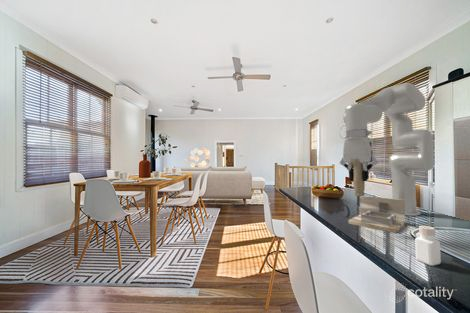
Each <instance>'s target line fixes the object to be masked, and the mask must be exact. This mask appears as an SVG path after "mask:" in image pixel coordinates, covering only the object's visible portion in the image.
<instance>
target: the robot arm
mask: <svg viewBox="0 0 470 313" xmlns="http://www.w3.org/2000/svg"><path fill="white" fill-rule="evenodd" d="M425 106H426V98H425V95H424V94H423V93H422V92H421V91H420V89H419V88H418V87H417V86H416V85H415V84H413V83H411V82H404V83H400V84H396V85H393V86H388V87H385V88H383V89H381V90H380V91H379V92H377V93H376V94H374V96H371V97H369V98H366V99H364V100H363V101H360V102H358V103H355V104H354V103H353V104H351V105H347V106H346V107H345V110H344V114H343V118H342V120H343V122H344V124H345V135H346V137H345V138H346V139H344V142H343V150H342V151H343V152H342V154H343V156H342V158H341V159H340V161H339V164H340V165H342V166H343V167H344V168H345V169H346V170H347V171H348V178H349V180H350V181H353V164H352V163H351V162H350V161H349V160H350V159H359V160H360V163H362V164H363V171H362V174H363V181H364V182H367V181H368V180H369V177H370V176H369V171H370V170H371V169H372V168H373V167H374V166H376V165H378V164H379V161H378V160H377V158H376V157H375V156H374V148H373V142H372V138H371V137H369V136H370V135H372V134H373V131H372V130H368V125H369V124H375V123H377V122H379V121H380V120H381V119H382V118H383V113H384V114H385V116H387V117H386V118H388V120H389V121H390V123H391V143H392V147H393V148H394V149H395V150H419V151H401V152H400V151H399V152H398V151H397V152H394V153H392V154H390V156H389V157H388V164H389V167H390V172H391V173H390V174H391V190H392V191H391V193H392V199H400V200H404V202H405V216H411V217H413V216H414V217H417V216H420V215H421V214H422V213H421V212H420V211H419V210H417V195H416V194H417V192H416V190H417V188H416V179H415V177H414V175H413V174H412V173H411V172H413V171H415V172H416V171H418V172H421V171H422V172H426V171H432V169H433V168H434V166H435V164H434V163H435V160H434V159H435V157H434V154H435V152H434V137H433V134H432V132H431V131H430V130H428V129H423V128H422V129H415V130H414V129H413V128H414V127H413V121H412V119H411V118H410V117H409V116H408V115H406V113H407V114H408V113H412V112H413V113H414V112H418V111H421V110H423V109H424V108H425ZM359 160H357V162H359ZM410 171H411V172H410Z"/></svg>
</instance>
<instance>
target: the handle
mask: <svg viewBox="0 0 470 313" xmlns="http://www.w3.org/2000/svg"><path fill="white" fill-rule="evenodd" d="M357 160H359V159H350V160H349V161H350V162H351V163H352V164H353V180H352V183H353V191H354V195H355V197H360V196H365V187H366V184H365V183H366V181H363V174H362V171H364V170H363V169H364V168H363V164H362V163H360V160H359V162H357Z"/></svg>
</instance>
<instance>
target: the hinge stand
mask: <svg viewBox="0 0 470 313" xmlns="http://www.w3.org/2000/svg"><path fill="white" fill-rule="evenodd" d="M359 210H360V214H358V215H356V216H354V217H352V218H350V219H348V222H347V223H348V224H349V225H353V226H359V227H364V228H368V229H374V230H379V231H383V232H387V233H393V234H397V233H398V232H399V231H400V230H401V229H402V228H403V227H404V226H405V225H406V215H405V202H404V200H400V199H393V198H388V197H387V198H386V197H380V196H379V197H377V196H371V195H370V196H369V195H364V196H359Z"/></svg>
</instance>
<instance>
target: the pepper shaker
mask: <svg viewBox="0 0 470 313" xmlns="http://www.w3.org/2000/svg"><path fill="white" fill-rule="evenodd" d="M418 230H419V231H418V232H419V233H418V234H419V236H417V237H416V238H415V239H414V244H415V248H414V249H415V259H416V260H417V261H419V262H421V263H423V264H426V265H428V266H431V267H432V266H437V265H440V264H441V262H442V261H441V258H442V256H441V242H440V241H439V240H437V239H436V228H435V227H432V226H429V225H419V226H418Z"/></svg>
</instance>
